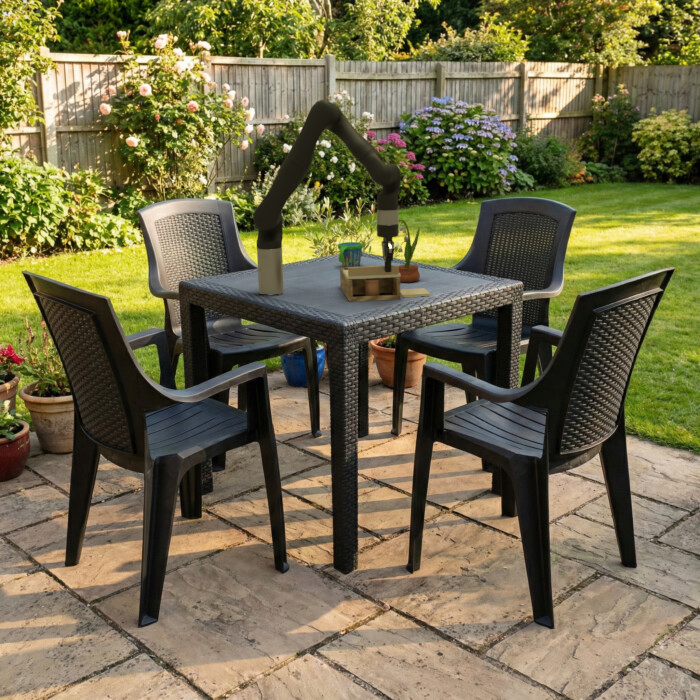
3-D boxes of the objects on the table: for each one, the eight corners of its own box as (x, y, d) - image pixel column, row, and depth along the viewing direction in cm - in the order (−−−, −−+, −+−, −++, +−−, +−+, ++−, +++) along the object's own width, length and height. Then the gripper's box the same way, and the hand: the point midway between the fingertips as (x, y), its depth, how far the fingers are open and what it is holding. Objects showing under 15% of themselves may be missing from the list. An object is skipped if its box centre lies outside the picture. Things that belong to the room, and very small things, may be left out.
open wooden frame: (349, 301, 311) (348, 281, 309) (340, 286, 337) (340, 267, 335) (400, 299, 313) (400, 278, 311) (387, 284, 339) (387, 265, 337)
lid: (347, 279, 310) (346, 268, 309) (342, 272, 323) (342, 261, 322) (400, 276, 312) (400, 265, 311) (394, 270, 325) (394, 259, 324)
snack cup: (349, 271, 369) (348, 247, 366) (330, 268, 375) (329, 245, 373) (371, 265, 380) (371, 242, 378) (352, 263, 387) (352, 240, 384)
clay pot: (365, 298, 315) (365, 279, 313) (363, 295, 320) (362, 276, 319) (381, 298, 316) (381, 278, 314) (378, 294, 321) (378, 276, 319)
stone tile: (402, 297, 315) (402, 294, 315) (397, 292, 325) (397, 289, 325) (429, 296, 316) (429, 293, 316) (424, 290, 326) (424, 288, 326)
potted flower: (394, 284, 339) (394, 219, 332) (386, 279, 348) (386, 216, 342) (423, 282, 342) (423, 218, 336) (415, 277, 351) (414, 215, 345)
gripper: (374, 220, 311) (374, 269, 315) (379, 225, 298) (380, 275, 303) (395, 220, 312) (395, 268, 316) (401, 224, 299) (401, 274, 303)
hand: (388, 271), depth 309 cm, fingers closed
